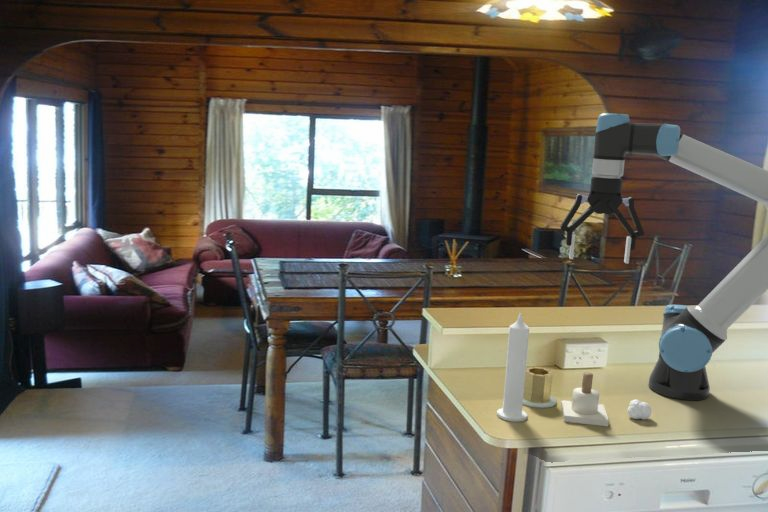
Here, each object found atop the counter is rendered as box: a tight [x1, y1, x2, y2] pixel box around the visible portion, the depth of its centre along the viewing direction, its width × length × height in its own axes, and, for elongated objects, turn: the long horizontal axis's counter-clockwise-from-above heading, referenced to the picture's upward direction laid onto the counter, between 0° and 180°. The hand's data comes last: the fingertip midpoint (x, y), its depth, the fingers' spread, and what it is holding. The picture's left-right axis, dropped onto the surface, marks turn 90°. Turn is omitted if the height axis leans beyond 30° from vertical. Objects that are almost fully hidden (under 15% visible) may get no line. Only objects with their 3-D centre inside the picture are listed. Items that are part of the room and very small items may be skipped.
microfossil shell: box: [626, 399, 652, 421], centre depth 178 cm, size 4×5×6 cm
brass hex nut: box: [523, 366, 554, 403], centre depth 185 cm, size 7×7×7 cm
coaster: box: [523, 394, 558, 409], centre depth 185 cm, size 10×10×1 cm
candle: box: [496, 312, 530, 423], centre depth 173 cm, size 7×7×25 cm
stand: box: [560, 371, 610, 427], centre depth 176 cm, size 10×10×10 cm
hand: (598, 260), depth 188 cm, fingers open, 13 cm apart
